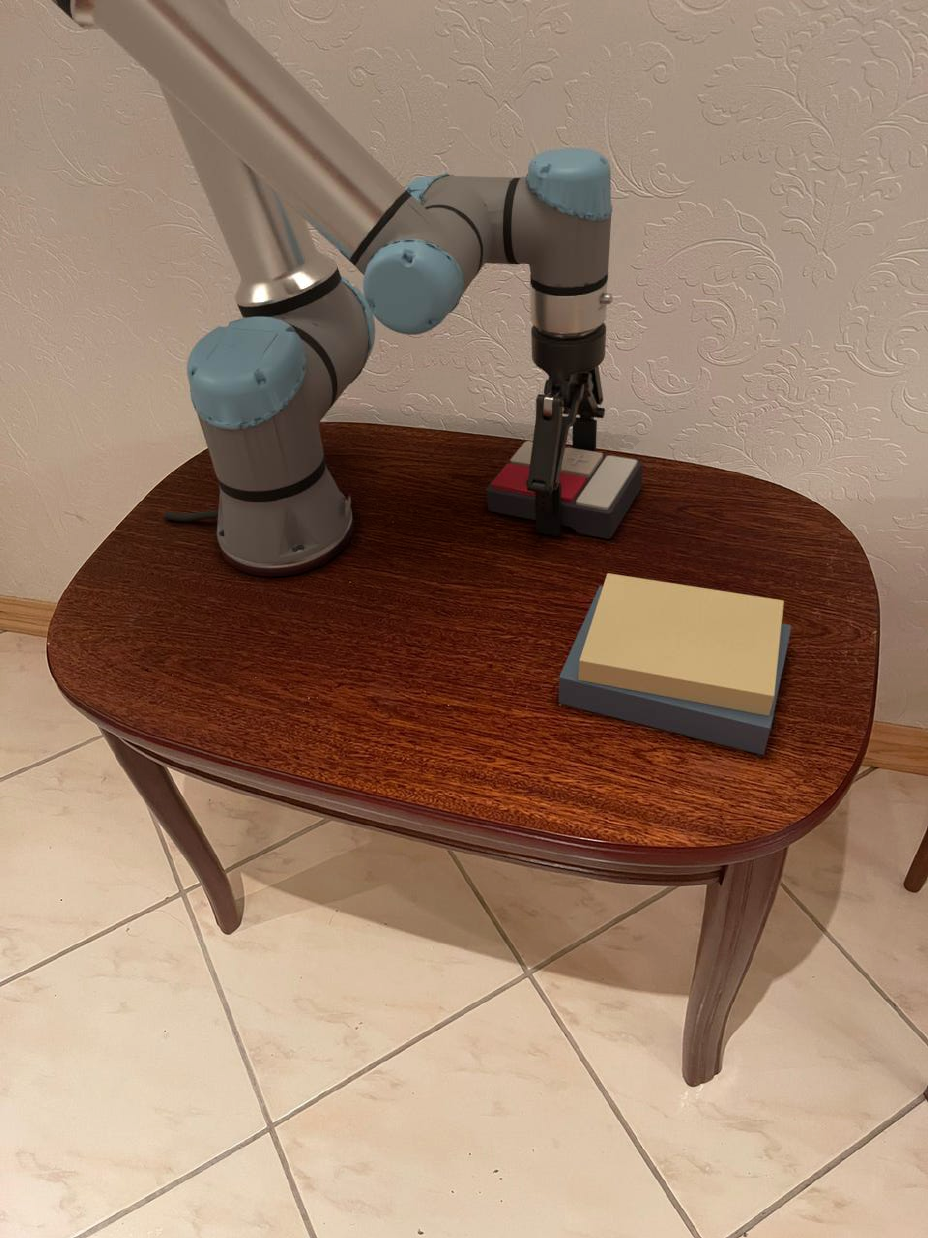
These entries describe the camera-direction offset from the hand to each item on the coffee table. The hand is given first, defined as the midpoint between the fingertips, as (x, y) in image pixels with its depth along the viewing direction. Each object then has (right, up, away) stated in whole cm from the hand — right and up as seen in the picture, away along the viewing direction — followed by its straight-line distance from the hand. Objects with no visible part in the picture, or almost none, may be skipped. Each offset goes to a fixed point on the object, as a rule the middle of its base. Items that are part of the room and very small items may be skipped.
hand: (566, 498), depth 103 cm
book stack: (+7, -19, -22) cm, 30 cm away
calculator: (0, 0, 0) cm, 0 cm away
